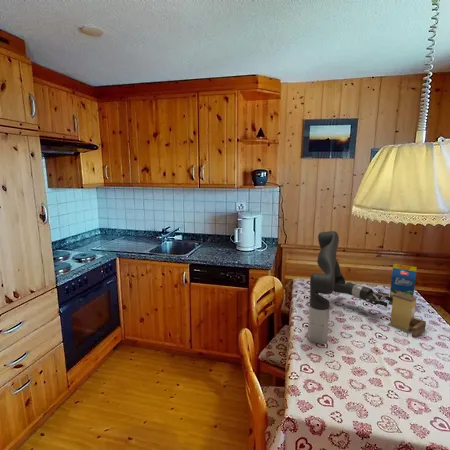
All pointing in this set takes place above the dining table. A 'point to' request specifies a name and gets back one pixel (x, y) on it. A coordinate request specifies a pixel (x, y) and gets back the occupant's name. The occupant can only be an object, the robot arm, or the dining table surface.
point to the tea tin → (403, 311)
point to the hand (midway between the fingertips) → (391, 302)
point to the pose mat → (400, 329)
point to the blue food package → (403, 280)
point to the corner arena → (418, 327)
